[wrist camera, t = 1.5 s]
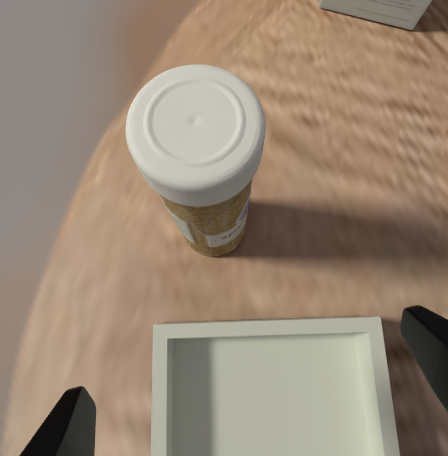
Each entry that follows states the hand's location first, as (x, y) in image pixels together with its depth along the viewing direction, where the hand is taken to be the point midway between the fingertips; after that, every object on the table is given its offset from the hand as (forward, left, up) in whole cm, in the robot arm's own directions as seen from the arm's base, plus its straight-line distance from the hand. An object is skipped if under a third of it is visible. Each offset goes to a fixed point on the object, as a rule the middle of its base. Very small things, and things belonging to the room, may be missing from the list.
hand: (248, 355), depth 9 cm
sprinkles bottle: (+7, +1, -13) cm, 15 cm away
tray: (-6, -2, -13) cm, 14 cm away
